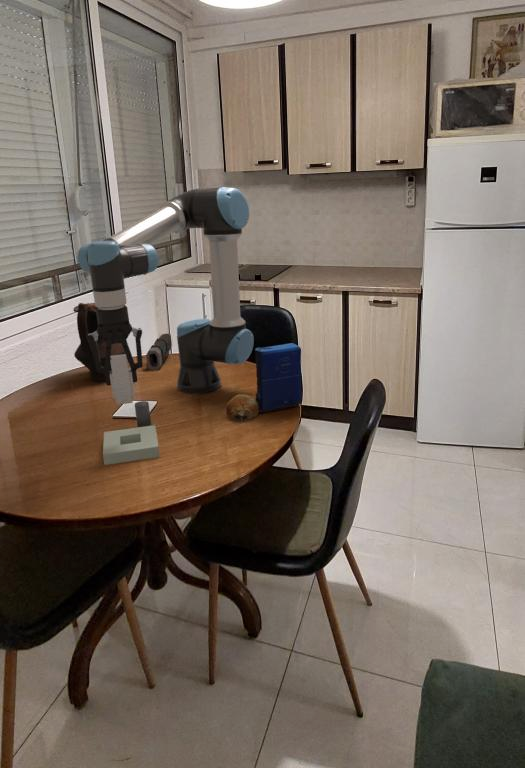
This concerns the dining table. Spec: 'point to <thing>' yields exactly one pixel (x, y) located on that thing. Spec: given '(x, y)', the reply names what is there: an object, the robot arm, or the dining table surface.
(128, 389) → the square peg
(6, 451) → the dining table surface
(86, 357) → the jug
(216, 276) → the robot arm
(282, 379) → the book
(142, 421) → the round peg
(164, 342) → the tube
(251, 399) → the bread roll
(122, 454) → the socket board
